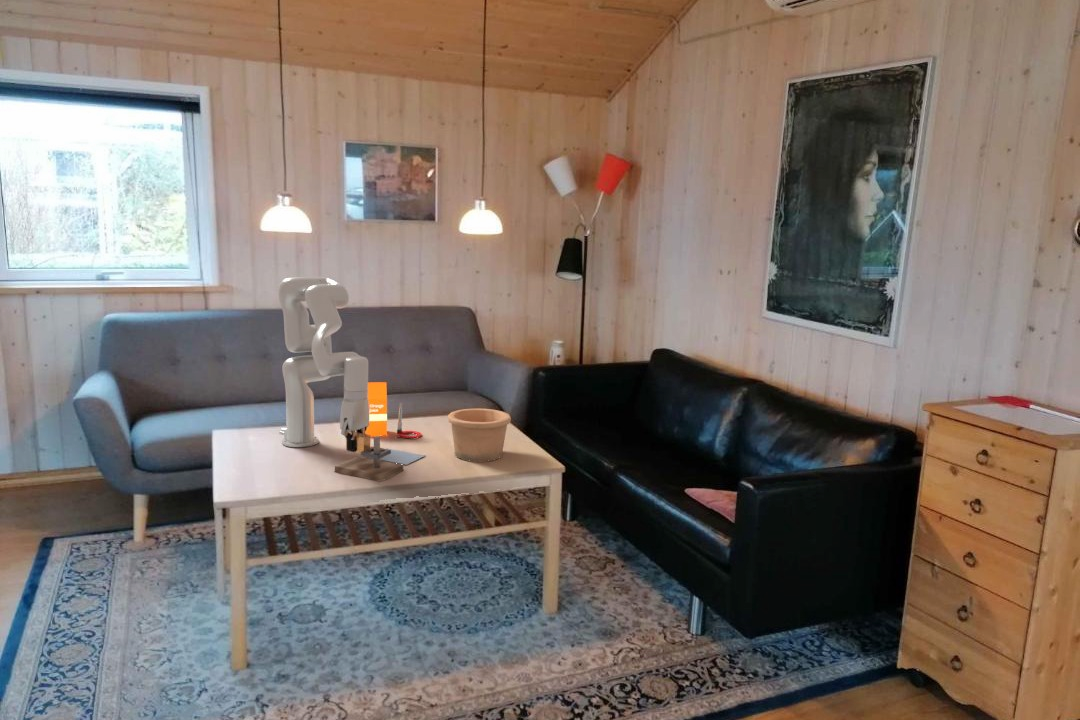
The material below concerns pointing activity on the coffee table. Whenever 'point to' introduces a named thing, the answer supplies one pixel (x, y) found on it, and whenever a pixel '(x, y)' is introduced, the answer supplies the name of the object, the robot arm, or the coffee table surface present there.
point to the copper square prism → (367, 446)
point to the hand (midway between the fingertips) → (355, 448)
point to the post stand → (369, 466)
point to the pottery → (478, 433)
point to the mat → (400, 457)
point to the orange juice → (377, 409)
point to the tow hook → (399, 430)
